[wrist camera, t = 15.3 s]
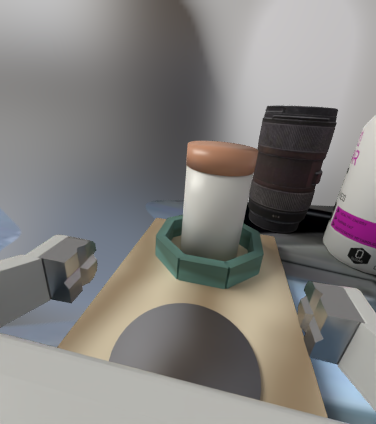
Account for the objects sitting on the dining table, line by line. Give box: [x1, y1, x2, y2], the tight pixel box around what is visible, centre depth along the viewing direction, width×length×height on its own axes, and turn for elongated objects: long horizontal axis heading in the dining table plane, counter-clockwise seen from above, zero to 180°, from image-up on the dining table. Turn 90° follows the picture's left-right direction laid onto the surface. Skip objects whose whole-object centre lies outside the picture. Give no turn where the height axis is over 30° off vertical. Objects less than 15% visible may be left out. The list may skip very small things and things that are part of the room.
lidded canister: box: [180, 141, 258, 262], centre depth 20 cm, size 6×6×10 cm
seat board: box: [57, 215, 328, 418], centre depth 17 cm, size 14×22×3 cm, turn 169°
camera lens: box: [248, 106, 338, 233], centre depth 30 cm, size 8×8×15 cm
